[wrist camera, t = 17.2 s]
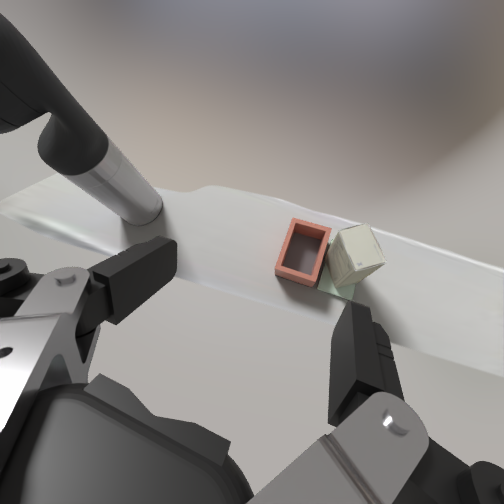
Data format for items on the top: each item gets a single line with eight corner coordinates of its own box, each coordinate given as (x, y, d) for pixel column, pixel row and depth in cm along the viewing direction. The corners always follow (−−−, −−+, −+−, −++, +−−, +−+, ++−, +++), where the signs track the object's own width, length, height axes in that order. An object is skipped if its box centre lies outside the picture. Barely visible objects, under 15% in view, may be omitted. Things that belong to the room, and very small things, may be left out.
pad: (316, 289, 42) (317, 288, 41) (331, 240, 44) (332, 239, 44) (350, 300, 41) (351, 300, 40) (363, 249, 43) (364, 248, 42)
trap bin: (275, 275, 44) (274, 268, 39) (291, 229, 46) (292, 217, 41) (311, 287, 42) (315, 282, 37) (326, 239, 45) (331, 228, 40)
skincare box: (358, 282, 41) (389, 264, 29) (333, 289, 41) (355, 273, 29) (345, 250, 43) (369, 221, 31) (322, 256, 43) (338, 229, 31)
